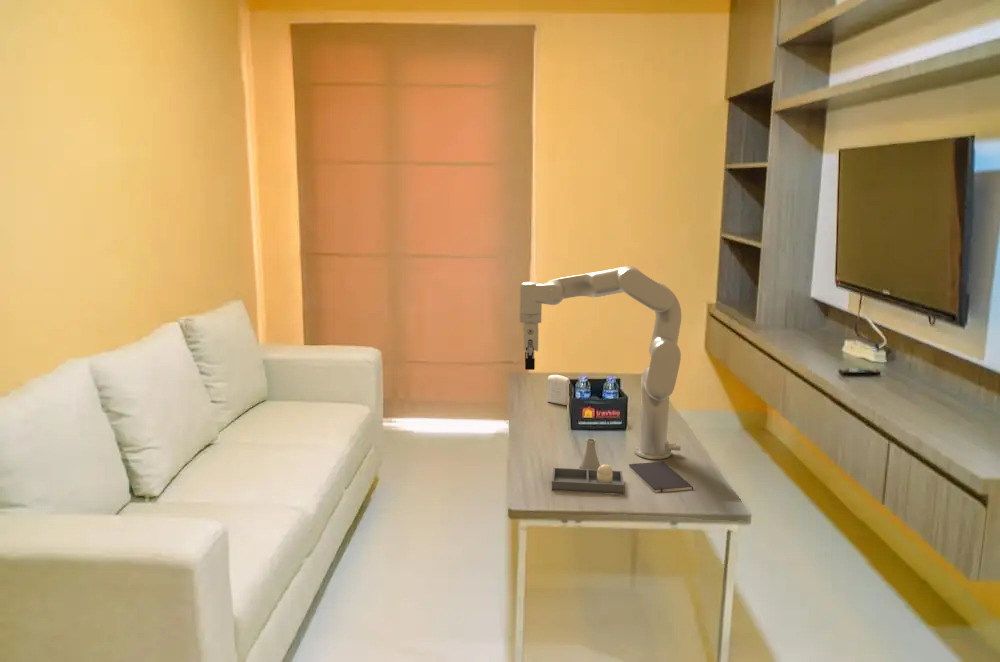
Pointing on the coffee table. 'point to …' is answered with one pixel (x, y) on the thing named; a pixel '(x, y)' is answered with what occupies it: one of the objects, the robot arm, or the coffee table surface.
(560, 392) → the photo printer
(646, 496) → the coffee table surface
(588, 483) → the tray
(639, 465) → the notebook
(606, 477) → the cream egg
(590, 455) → the flask
